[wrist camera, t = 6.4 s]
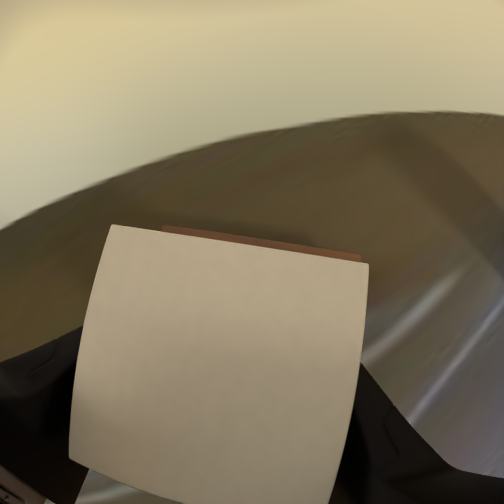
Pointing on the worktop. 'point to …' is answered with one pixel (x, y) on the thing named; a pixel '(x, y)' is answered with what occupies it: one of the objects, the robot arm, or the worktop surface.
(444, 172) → the worktop surface
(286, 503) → the cream box
